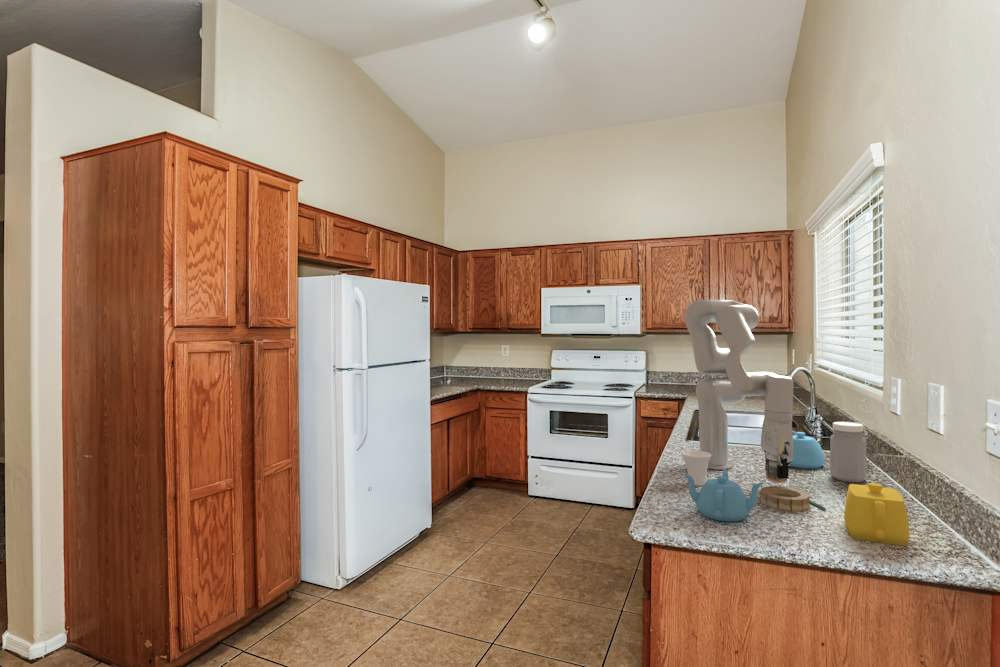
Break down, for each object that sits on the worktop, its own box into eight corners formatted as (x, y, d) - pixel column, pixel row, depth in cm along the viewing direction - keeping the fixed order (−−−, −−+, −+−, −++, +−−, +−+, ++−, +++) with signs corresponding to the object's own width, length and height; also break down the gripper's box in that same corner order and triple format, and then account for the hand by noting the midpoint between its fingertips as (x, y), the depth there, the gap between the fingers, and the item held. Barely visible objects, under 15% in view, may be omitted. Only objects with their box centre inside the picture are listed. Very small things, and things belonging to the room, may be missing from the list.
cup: (696, 478, 173) (695, 448, 172) (717, 485, 164) (717, 454, 164) (675, 481, 169) (674, 450, 169) (696, 489, 160) (696, 457, 160)
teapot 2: (840, 514, 138) (840, 470, 138) (898, 522, 132) (898, 476, 132) (848, 541, 120) (848, 491, 120) (916, 552, 115) (915, 498, 114)
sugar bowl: (768, 462, 192) (768, 430, 192) (795, 457, 199) (795, 427, 199) (807, 471, 179) (806, 438, 179) (834, 466, 185) (834, 434, 185)
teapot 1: (715, 528, 130) (715, 487, 130) (680, 507, 144) (680, 471, 144) (765, 522, 133) (765, 482, 133) (725, 502, 148) (725, 466, 148)
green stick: (795, 495, 154) (795, 493, 154) (798, 495, 154) (798, 493, 154) (823, 510, 141) (823, 508, 141) (826, 510, 141) (826, 507, 141)
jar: (842, 473, 176) (841, 420, 176) (873, 480, 168) (872, 424, 168) (823, 477, 172) (823, 422, 172) (854, 484, 163) (854, 427, 163)
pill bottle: (768, 476, 163) (769, 445, 163) (788, 480, 160) (789, 448, 159) (764, 481, 159) (764, 449, 158) (785, 485, 155) (785, 452, 155)
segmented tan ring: (752, 496, 153) (752, 486, 153) (792, 496, 153) (792, 485, 153) (775, 511, 141) (775, 500, 141) (818, 510, 141) (818, 499, 141)
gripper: (751, 410, 167) (750, 466, 168) (782, 422, 150) (780, 484, 151) (774, 410, 167) (773, 466, 168) (807, 422, 150) (805, 484, 151)
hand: (776, 474), depth 159 cm, fingers closed on pill bottle, 5 cm apart
